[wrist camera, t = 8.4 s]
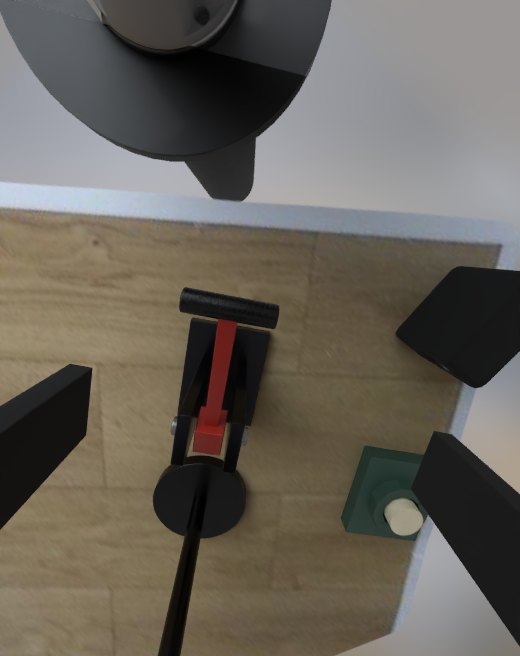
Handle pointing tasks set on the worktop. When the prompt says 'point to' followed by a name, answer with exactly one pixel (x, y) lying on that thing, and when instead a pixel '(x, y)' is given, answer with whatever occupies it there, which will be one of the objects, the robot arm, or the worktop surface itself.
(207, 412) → the switch lever
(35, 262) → the worktop surface
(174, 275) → the worktop surface
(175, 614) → the desk lamp
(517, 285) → the electronic device
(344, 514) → the timer box
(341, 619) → the worktop surface
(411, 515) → the timer button
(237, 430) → the stand
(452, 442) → the robot arm
